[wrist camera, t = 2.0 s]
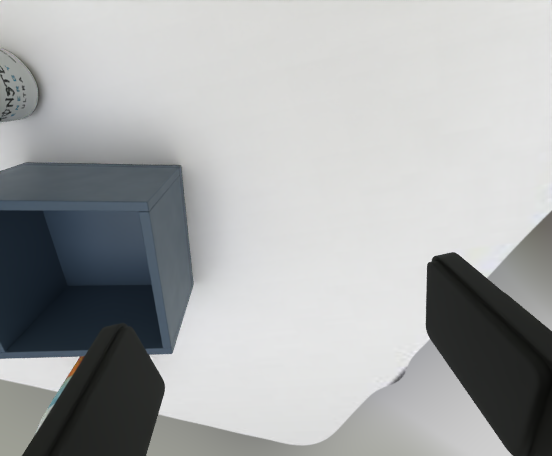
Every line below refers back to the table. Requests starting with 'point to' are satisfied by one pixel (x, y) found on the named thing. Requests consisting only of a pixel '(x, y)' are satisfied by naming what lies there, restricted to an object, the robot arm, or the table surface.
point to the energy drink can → (16, 88)
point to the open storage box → (91, 256)
